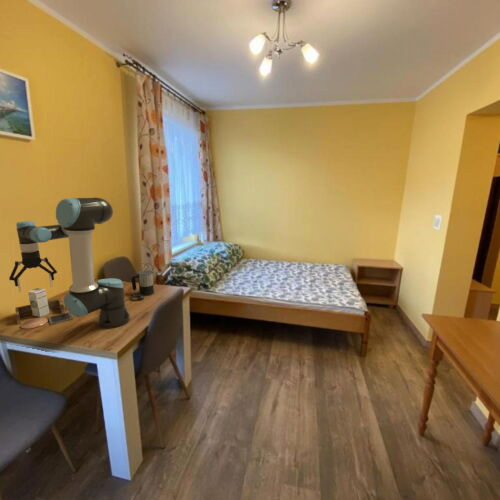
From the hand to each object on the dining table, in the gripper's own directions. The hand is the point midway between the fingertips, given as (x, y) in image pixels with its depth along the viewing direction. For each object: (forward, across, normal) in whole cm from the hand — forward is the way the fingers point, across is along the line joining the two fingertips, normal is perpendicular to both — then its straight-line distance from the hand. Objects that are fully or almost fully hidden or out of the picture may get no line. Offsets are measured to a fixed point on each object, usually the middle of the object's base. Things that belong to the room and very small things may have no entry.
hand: (36, 288), depth 149 cm
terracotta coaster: (+15, +3, +11) cm, 19 cm away
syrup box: (+15, 0, 0) cm, 15 cm away
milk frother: (+15, -54, +10) cm, 56 cm away
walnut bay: (+15, 0, 0) cm, 15 cm away
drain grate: (+15, -8, +13) cm, 21 cm away
